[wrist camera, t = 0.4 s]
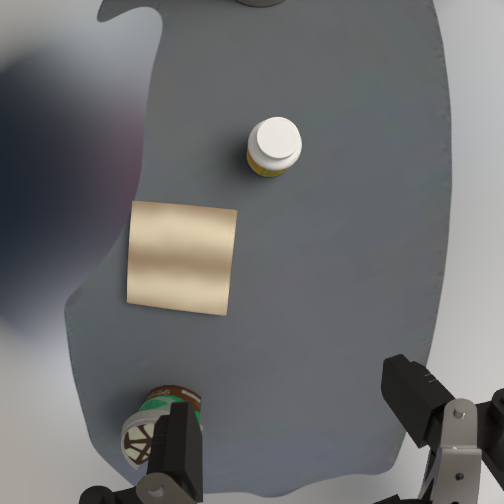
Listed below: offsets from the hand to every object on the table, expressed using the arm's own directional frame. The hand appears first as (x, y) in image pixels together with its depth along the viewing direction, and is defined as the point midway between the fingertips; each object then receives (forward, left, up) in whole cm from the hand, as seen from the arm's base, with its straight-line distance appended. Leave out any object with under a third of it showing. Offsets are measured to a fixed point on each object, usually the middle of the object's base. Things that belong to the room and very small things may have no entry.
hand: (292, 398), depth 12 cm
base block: (-1, -9, -27) cm, 29 cm away
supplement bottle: (-14, 0, -27) cm, 31 cm away
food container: (+20, -11, -27) cm, 36 cm away
